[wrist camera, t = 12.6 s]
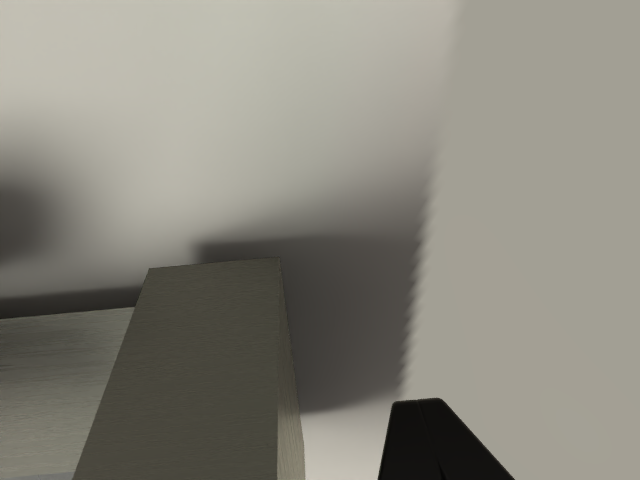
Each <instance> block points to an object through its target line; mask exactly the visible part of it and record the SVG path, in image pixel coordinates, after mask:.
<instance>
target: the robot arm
mask: <svg viewBox="0 0 640 480" xmlns="http://www.w3.org/2000/svg"><path fill="white" fill-rule="evenodd" d="M378 480H515V479H514V478H513V477H512V476H511V475H510V474H509V472H508V471H507V470H506V469H505V468H504V467H503V466H502V465H501V464H500V463H499V461H498V460H497V459H496V458H495V457H494V456H493V455H492V454H491V453H490V451H489V450H488V449H487V448H486V447H485V446H484V445H483V444H482V443H481V441H480V440H479V439H478V438H477V437H476V436H475V435H474V434H473V433H472V432H471V431H470V429H469V428H468V427H467V426H466V425H465V424H464V423H463V422H462V420H461V419H460V418H459V417H458V416H457V415H456V414H455V413H454V412H453V410H452V409H451V408H450V407H449V406H448V405H447V404H446V403H445V402H444V401H443V400H442V399H440V398H429V399H418V400H406V401H396V402H394V403H393V404H392V408H391V413H390V418H389V423H388V428H387V433H386V439H385V444H384V449H383V454H382V459H381V464H380V470H379V475H378Z"/></svg>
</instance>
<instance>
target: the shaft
mask: <svg viewBox="0 0 640 480" xmlns="http://www.w3.org/2000/svg"><path fill="white" fill-rule="evenodd" d="M0 480H305V459H304V442H303V434H302V426H301V419H300V411H299V403H298V395H297V388H296V380H295V372H294V365H293V357H292V349H291V342H290V334H289V326H288V319H287V311H286V303H285V296H284V288H283V280H282V273H281V265H280V257H271V258H260V259H249V260H238V261H227V262H216V263H205V264H194V265H183V266H172V267H161V268H150V269H149V270H148V273H147V276H146V279H145V281H144V284H143V287H142V290H141V292H140V295H139V298H138V301H137V303H136V306H135V307H129V308H118V309H107V310H96V311H85V312H74V313H63V314H52V315H41V316H30V317H19V318H8V319H0Z"/></svg>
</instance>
